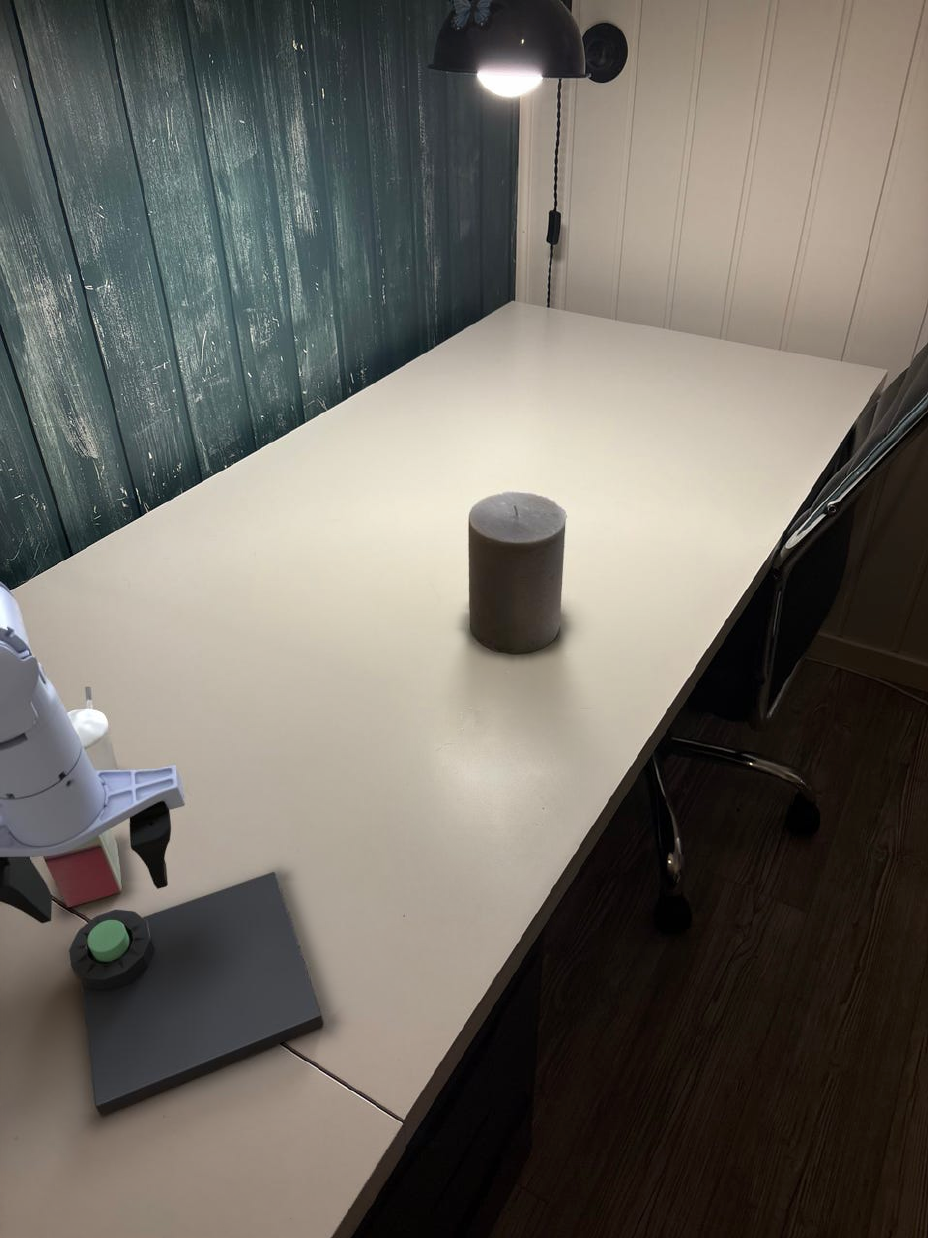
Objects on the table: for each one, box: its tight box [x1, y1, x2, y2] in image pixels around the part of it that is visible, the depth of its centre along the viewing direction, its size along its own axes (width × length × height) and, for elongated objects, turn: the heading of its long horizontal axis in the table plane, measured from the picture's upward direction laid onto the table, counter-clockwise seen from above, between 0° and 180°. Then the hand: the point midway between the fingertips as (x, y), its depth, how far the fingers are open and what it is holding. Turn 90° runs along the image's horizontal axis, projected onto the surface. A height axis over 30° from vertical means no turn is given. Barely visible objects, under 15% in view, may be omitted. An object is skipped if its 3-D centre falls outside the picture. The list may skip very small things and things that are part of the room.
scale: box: [68, 871, 324, 1116], centre depth 65 cm, size 15×13×3 cm
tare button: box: [88, 920, 130, 962], centre depth 66 cm, size 3×3×1 cm
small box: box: [42, 828, 123, 908], centre depth 71 cm, size 5×4×8 cm
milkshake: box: [67, 686, 119, 770], centre depth 78 cm, size 5×5×10 cm
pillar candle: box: [467, 490, 568, 654], centre depth 94 cm, size 10×10×15 cm
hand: (104, 892), depth 63 cm, fingers open, 7 cm apart
